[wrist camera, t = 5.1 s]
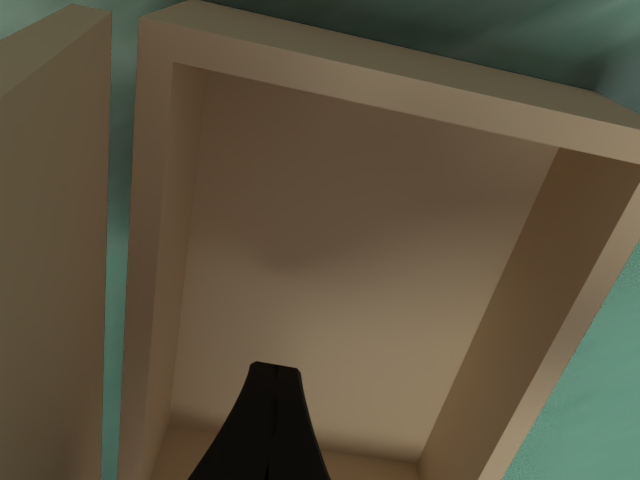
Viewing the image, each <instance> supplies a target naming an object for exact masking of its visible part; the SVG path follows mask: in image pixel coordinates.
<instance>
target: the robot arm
mask: <svg viewBox="0 0 640 480" xmlns="http://www.w3.org/2000/svg"><path fill="white" fill-rule="evenodd" d="M187 480H331V479H330V476H329V474H328V471H327V468H326V465H325V463H324V460H323V457H322V454H321V451H320V448H319V445H318V442H317V439H316V436H315V433H314V429H313V426H312V422H311V419H310V415H309V411H308V407H307V403H306V399H305V394H304V389H303V384H302V377H301V372H300V371H299V370H298V368H294V367H288V366H282V365H277V364H271V363H265V362H259V361H255V362H253V363H251V364H250V367H249V371H248V374H247V377H246V380H245V383H244V385H243V387H242V390H241V392H240V394H239V396H238V398H237V400H236V402H235V404H234V406H233V408H232V410H231V412H230V413H229V415H228V417H227V419H226V420H225V422H224V424H223V426H222V427H221V429H220V431H219V433H218V434H217V436H216V437H215V439H214V441H213V442H212V444H211V445H210V447H209V448H208V450H207V451H206V453H205V454H204V456H203V457H202V459H201V460H200V462H199V463H198V465H197V466H196V468H195V469H194V471H193V472H192V473H191V475H190V476H189V478H188V479H187Z"/></svg>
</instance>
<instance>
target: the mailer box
mask: <svg viewBox="0 0 640 480" xmlns="http://www.w3.org/2000/svg"><path fill="white" fill-rule="evenodd" d="M639 240H640V114H638V113H637V112H635V111H633V110H631V109H629V108H627V107H625V106H623V105H621V104H619V103H617V102H615V101H613V100H611V99H609V98H607V97H605V96H603V95H601V94H599V93H597V92H595V91H590V90H586V89H582V88H577V87H573V86H569V85H564V84H560V83H556V82H551V81H547V80H543V79H538V78H534V77H530V76H525V75H521V74H517V73H513V72H508V71H504V70H500V69H495V68H491V67H487V66H482V65H478V64H474V63H469V62H465V61H461V60H456V59H452V58H448V57H443V56H439V55H435V54H430V53H426V52H422V51H418V50H413V49H409V48H405V47H400V46H396V45H392V44H387V43H383V42H379V41H374V40H370V39H366V38H361V37H357V36H353V35H348V34H344V33H340V32H335V31H331V30H327V29H323V28H318V27H314V26H310V25H305V24H301V23H297V22H292V21H288V20H284V19H279V18H275V17H271V16H266V15H262V14H258V13H253V12H249V11H245V10H240V9H236V8H232V7H228V6H223V5H219V4H215V3H210V2H206V1H202V0H187V1H184V2H181V3H178V4H175V5H172V6H169V7H166V8H163V9H160V10H157V11H154V12H151V13H148V14H145V15H142V16H139V29H138V50H137V72H136V93H135V114H134V136H133V157H132V179H131V200H130V221H129V243H128V264H127V286H126V307H125V328H124V350H123V371H122V392H121V414H120V435H119V457H118V478H117V480H187V479H188V478H189V476H190V475H191V473H192V472H193V471H194V469H195V468H196V466H197V465H198V463H199V462H200V460H201V459H202V457H203V456H204V454H205V453H206V451H207V450H208V448H209V447H210V445H211V444H212V442H213V441H214V439H215V437H216V436H217V434H218V433H219V431H220V429H221V427H222V426H223V424H224V422H225V420H226V419H227V417H228V415H229V413H230V412H231V410H232V408H233V406H234V404H235V402H236V400H237V398H238V396H239V394H240V392H241V390H242V387H243V385H244V383H245V380H246V377H247V374H248V371H249V367H250V364H251V363H253V362H255V361H259V362H265V363H271V364H277V365H282V366H288V367H294V368H298V370H299V371H300V372H301V377H302V384H303V389H304V394H305V399H306V403H307V407H308V411H309V415H310V419H311V422H312V426H313V429H314V433H315V436H316V439H317V442H318V445H319V448H320V451H321V454H322V457H323V460H324V463H325V465H326V468H327V471H328V474H329V476H330V479H331V480H501V479H502V477H503V476H504V474H505V472H506V470H507V469H508V467H509V465H510V463H511V462H512V460H513V458H514V457H515V455H516V453H517V451H518V450H519V448H520V446H521V444H522V443H523V441H524V439H525V437H526V436H527V434H528V432H529V431H530V429H531V427H532V425H533V424H534V422H535V420H536V418H537V417H538V415H539V413H540V411H541V410H542V408H543V406H544V404H545V403H546V401H547V399H548V398H549V396H550V394H551V392H552V391H553V389H554V387H555V385H556V384H557V382H558V380H559V378H560V377H561V375H562V373H563V371H564V370H565V368H566V366H567V365H568V363H569V361H570V359H571V358H572V356H573V354H574V352H575V351H576V349H577V347H578V345H579V344H580V342H581V340H582V339H583V337H584V335H585V333H586V332H587V330H588V328H589V326H590V325H591V323H592V321H593V319H594V318H595V316H596V314H597V312H598V311H599V309H600V307H601V306H602V304H603V302H604V300H605V299H606V297H607V295H608V293H609V292H610V290H611V288H612V286H613V285H614V283H615V281H616V279H617V278H618V276H619V274H620V273H621V271H622V269H623V267H624V266H625V264H626V262H627V260H628V259H629V257H630V255H631V253H632V252H633V250H634V248H635V247H636V245H637V243H638V241H639Z"/></svg>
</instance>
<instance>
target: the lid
mask: <svg viewBox="0 0 640 480" xmlns="http://www.w3.org/2000/svg"><path fill="white" fill-rule="evenodd" d="M111 38H112V11H106V10H101V9H96V8H91V7H86V6H81V5H76V4H70V5H69V6H67V7H65V8H63V9H61V10H59V11H57V12H55V13H53V14H51V15H49V16H47V17H45V18H43V19H41V20H39V21H37V22H35V23H33V24H31V25H29V26H27V27H25V28H23V29H21V30H19V31H17V32H16V33H14V34H12V35H10V36H8V37H6V38H4V39H2V40H0V480H101V455H102V413H103V372H104V330H105V288H106V247H107V205H108V163H109V122H110V80H111Z"/></svg>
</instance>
